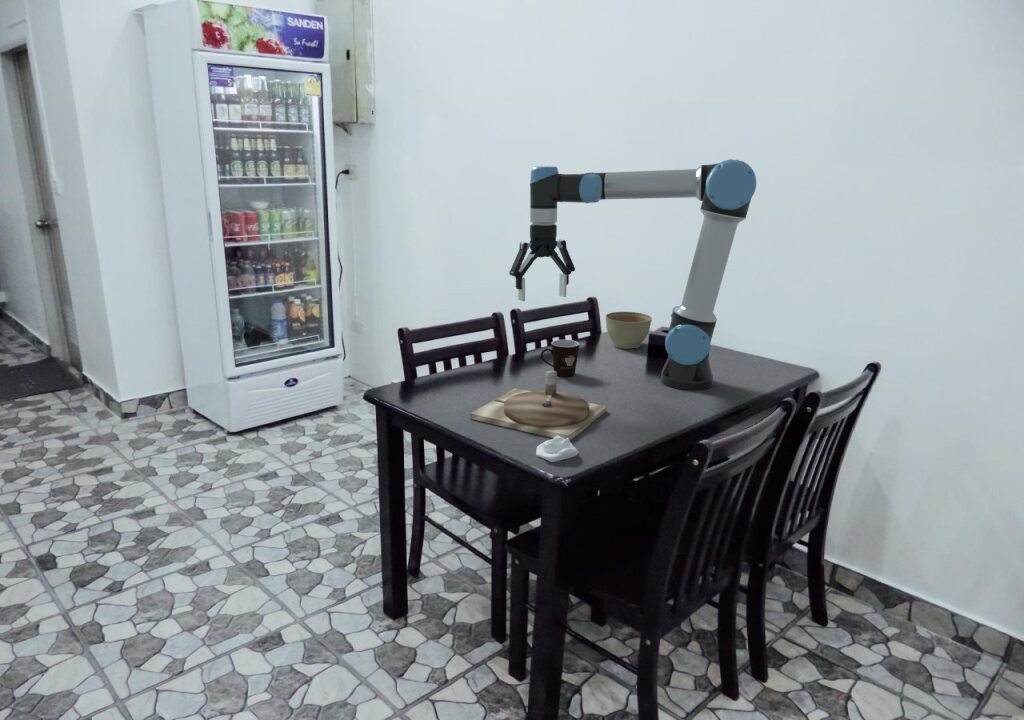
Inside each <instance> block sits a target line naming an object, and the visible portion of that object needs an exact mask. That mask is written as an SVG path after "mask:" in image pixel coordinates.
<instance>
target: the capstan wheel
mask: <svg viewBox="0 0 1024 720" xmlns="http://www.w3.org/2000/svg"><path fill="white" fill-rule="evenodd" d="M557 380H558V377H557V372H556V371H554V370H546V371H545V385H544V386H545V387H544V390H533V391H532V392H525V393H520V394H517V395H514V396H512V397H510V398H508V399H507V400H506V401H505V402H504V413H505V415H506V416H507V417H508V418H510V419H511V420H513V421H516V422H518V423H522V424H525V425H531V426H538V427H560V426H568V425H572V424H576V423H579V422H581V421H583V420H585V419H586V418H587V417H588V415H589V404H588V403H589V402H588V401H586V400H585V399H583V398H582V397H580V396H577V395H574V394H572V393H569V392H561V391H557V384H558V382H557Z"/></svg>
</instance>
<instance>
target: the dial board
mask: <svg viewBox="0 0 1024 720" xmlns="http://www.w3.org/2000/svg"><path fill="white" fill-rule="evenodd" d="M525 392H532V391H531V390H526V389H521V388H512V389H511V390H509V391H507V392H505V393H504V394H502V395H500V396H499V397H497V398H494V399H493V400H491V401H489V402H488V403H486V404H484V405H482V406H481V407H479V408H477V409H475V410H473V411H472V412H470V413H469V418H470V420H475V421H479V422H482V423H486V424H491V425H496V426H500V427H504V428H508V429H513V430H517V431H522V432H526V433H531V434H535V435H538V436H542V437H543V436H544V437H547V438H552V439H553V438H554V437H555V436H560V437H562V438H565V439H567V438H568V439H569V441H570V442H571V440H573V439H574V438H576V437H577V436H578V435H580V433H582V432H583V431H584V430H586V429H587V428H588V427H589V426H590V425H592V424H593V423H594V422H596V421H597V420H598V419H600V418H601V417H602V416H603V415H605V414H606V412H608V411H607V405H602V404H597V403H591V402H587V403H588V404H589V415H588V417H587V418H586V419H585V420H583V421H581V422H579V423H576V424H572V425H568V426H560V427H538V426H531V425H525V424H522V423H518V422H516V421H513V420H511V419H510V418H508V417H507V416H506V415H505V413H504V402H505V401H506V400H507V399H508V398H510V397H512V396H514V395H517V394H520V393H525ZM602 414H603V415H602ZM601 415H602V416H601ZM597 418H598V419H597ZM596 419H597V420H596ZM592 422H593V423H592ZM591 423H592V424H591Z"/></svg>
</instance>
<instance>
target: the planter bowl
mask: <svg viewBox="0 0 1024 720" xmlns="http://www.w3.org/2000/svg"><path fill="white" fill-rule="evenodd" d="M652 320H653V318H652V317H651V315H649V314H645V313H641V312H634V311H613V312H609V313H607V314H605V327H606V331H607V335H608V336H609V339H610V340H611V341H612V345H613V346H614V347H615V348H617V347H618V348H617V349H622V348H624V349H623V350H631V349H630V348H636V349H638V348H637V347H639V346H640V347H641V346H642V343H643V342H644V341H645V339H646V338H647V336H648V335H649V332H650V329H651V324H652ZM640 347H639V348H640Z"/></svg>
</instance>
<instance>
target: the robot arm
mask: <svg viewBox="0 0 1024 720" xmlns="http://www.w3.org/2000/svg"><path fill="white" fill-rule="evenodd" d="M529 181H530V182H529V185H530V186H529V193H530V194H529V196H530V197H529V200H530V204H529V205H530V206H529V207H530V208H529V209H530V210H529V211H530V214H529V221H530V223H531V224H530V226H529V238H530V240H529V242H525V241H520V242H519V248H518V252H517V254H516V256H515V259H514V261H513V263H512V266H511V269H510V271H509V273H508V275H509V276H511V277H514V278H515V289H516V290H517V291H518V292H517V293H518V295H517V297H518V299H517V300H518V301H521V302H525V301H526V278H525V277H524V276H525V274H526V273H527V272H528V270H529V269H530V267H531V266H532V264H533V263H534V261H535V260H537V259H538V258H541V259H542V258H544V257H546V258H551V260H553V262H554V263H555V264H556V266H557V267H558V269H559V270H560V271H561V272H562V273H559V280H558V281H559V286H558V287H559V288H558V289H559V290H558V293H559V294H558V295H559V296H558V297H562V298H566V297H567V286H569V284H570V282H569V281H570V280H569V279H570V275H571V274H572V272H575V271H576V267H575V265H574V263H573V260H572V258H571V256H570V253H569V251H568V248H567V240H565V239H558V240H557V235H558V233H557V230H558V229H557V228H558V226H557V224H556V223H557V222H558V203H581V204H584V203H585V204H590V203H591V204H592V203H599V201H602V200H603V201H604V200H624V199H625V200H632V199H635V200H637V199H643V200H644V199H672V198H673V199H675V198H676V199H680V198H681V199H682V198H695V199H697V200H698V201H700V202H701V206H700V212H701V214H702V215H703V221H702V224H701V228H700V232H699V236H698V240H697V243H696V244H697V245H696V248H695V251H694V256H693V259H692V262H691V267H690V270H689V274H688V277H687V282H686V286H685V290H684V293H683V296H682V301H681V304H680V305H678V306H677V305H676V306H674V307H673V308H672V309H671V314H670V317H671V320H670V324H669V327H668V331H667V335H666V336H665V338H664V346H665V351H666V353H667V354H668V355H667V358H666V360H665V363H664V366H663V368H662V370H661V373H660V382H661V383H662V384H664V385H666V386H667V387H671V388H675V389H679V390H688V391H697V390H698V391H701V390H705V389H709V388H711V387H712V386H713V381H714V376H713V371H712V368H711V364H710V350H711V346H712V345H711V341H712V338H713V335H714V332H715V329H716V328H715V327H716V324H717V320H718V318H717V317H716V315H715V314H714V310H715V307H716V304H717V303H716V302H717V298H718V296H719V292H720V289H721V285H722V282H723V278H724V275H725V271H726V268H727V263H728V261H729V260H728V259H729V257H730V253H731V249H732V246H733V242H734V239H735V235H736V231H737V228H738V225H739V224H740V223H741V222H743V221H745V220H746V218H747V215H748V211H749V207H750V204H751V201H752V199H753V196H754V195H755V192H756V190H757V189H756V188H757V177H756V174H755V172H754V169H753V168H752V167H751V166H750V165H749V164H748V163H747V162H745V161H743V160H739V159H732V158H731V159H727V160H722V161H721V162H718V163H717V162H716V163H713V164H701V165H700V166H698V167H697V168H693V169H692V168H689V169H688V168H687V169H663V170H642V171H639V170H636V171H634V170H633V171H615V172H614V171H613V172H611V171H609V172H608V171H607V172H586V173H568V174H567V173H565V174H563V173H559V169H558V167H557V166H534V167H532V168H531V170H530V180H529ZM556 248H558V250H559V252H560V255H561V257H560V256H559V253H558V252H557V251H556ZM529 249H530V251H529V253H528V254H527V252H528V250H529ZM526 255H527V256H526ZM561 258H562V259H561Z"/></svg>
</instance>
